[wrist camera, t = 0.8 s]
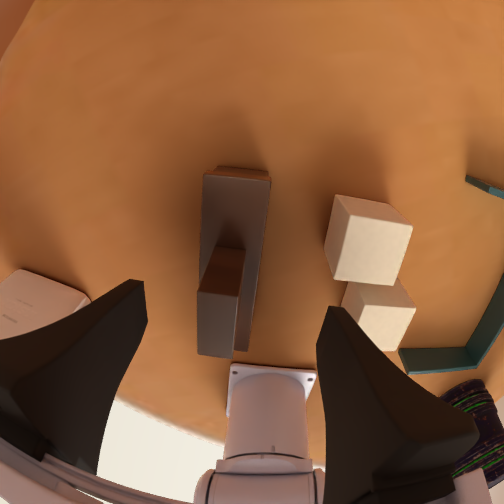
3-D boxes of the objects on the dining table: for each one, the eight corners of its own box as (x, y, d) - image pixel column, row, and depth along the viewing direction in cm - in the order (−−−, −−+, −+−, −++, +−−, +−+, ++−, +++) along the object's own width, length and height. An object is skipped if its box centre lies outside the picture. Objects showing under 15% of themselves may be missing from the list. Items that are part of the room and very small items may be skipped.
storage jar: (487, 392, 29) (520, 468, 15) (435, 427, 32) (457, 506, 19) (478, 368, 26) (522, 461, 12) (415, 410, 29) (442, 507, 16)
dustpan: (500, 346, 24) (511, 362, 21) (397, 352, 24) (406, 375, 22) (560, 217, 16) (577, 228, 14) (466, 174, 17) (489, 186, 14)
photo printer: (93, 291, 23) (17, 396, 12) (97, 325, 25) (37, 426, 14) (16, 261, 22) (-61, 334, 11) (23, 294, 24) (-42, 369, 13)
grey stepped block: (250, 321, 23) (242, 403, 16) (207, 315, 23) (184, 395, 16) (271, 168, 18) (271, 208, 11) (215, 162, 18) (177, 198, 11)
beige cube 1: (381, 318, 22) (395, 351, 19) (337, 315, 22) (346, 350, 19) (397, 277, 21) (417, 308, 17) (351, 271, 21) (365, 304, 17)
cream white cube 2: (375, 256, 20) (393, 286, 16) (322, 249, 20) (333, 280, 16) (389, 203, 18) (414, 225, 15) (334, 193, 18) (350, 214, 15)
